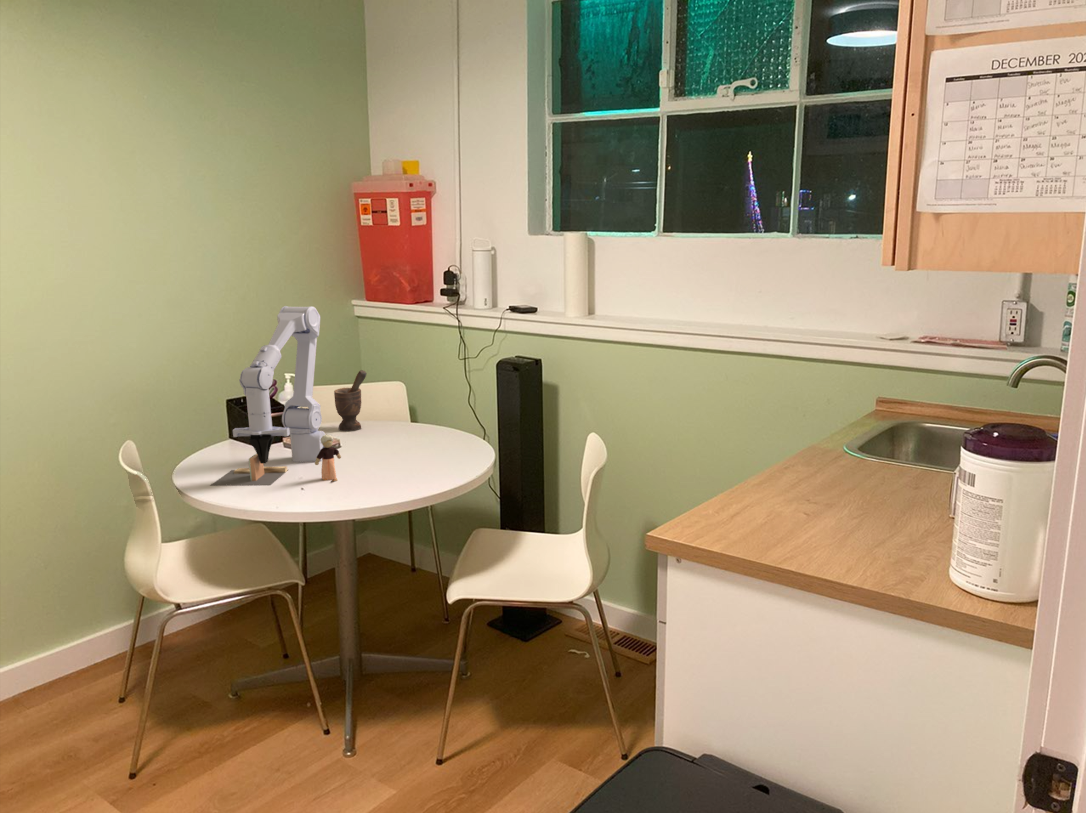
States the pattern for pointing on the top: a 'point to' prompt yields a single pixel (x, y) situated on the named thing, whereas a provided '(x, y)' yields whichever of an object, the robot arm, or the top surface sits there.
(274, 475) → the mat
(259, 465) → the tile
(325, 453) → the grandmother figurine
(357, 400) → the mortar and pestle
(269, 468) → the light wooden plank
